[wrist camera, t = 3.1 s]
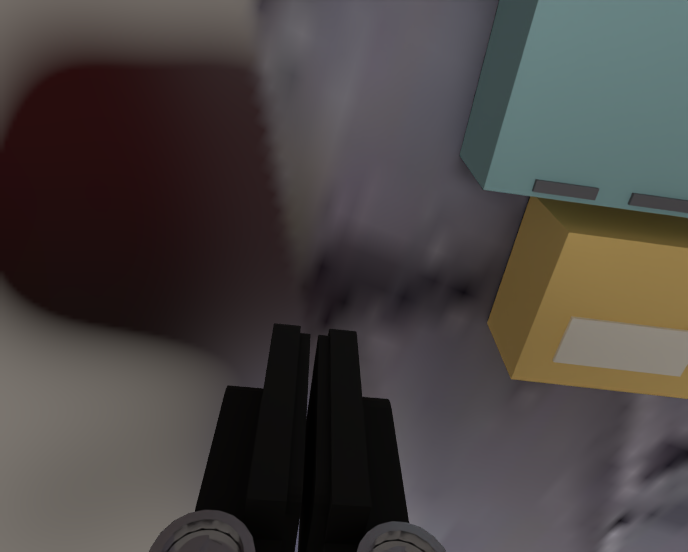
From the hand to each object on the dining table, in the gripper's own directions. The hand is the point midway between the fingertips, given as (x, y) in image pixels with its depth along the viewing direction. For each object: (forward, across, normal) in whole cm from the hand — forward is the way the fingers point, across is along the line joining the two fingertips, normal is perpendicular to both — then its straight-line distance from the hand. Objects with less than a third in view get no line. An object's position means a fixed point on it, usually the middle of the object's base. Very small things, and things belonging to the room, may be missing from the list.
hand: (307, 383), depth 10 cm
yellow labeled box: (+7, -10, 0) cm, 12 cm away
